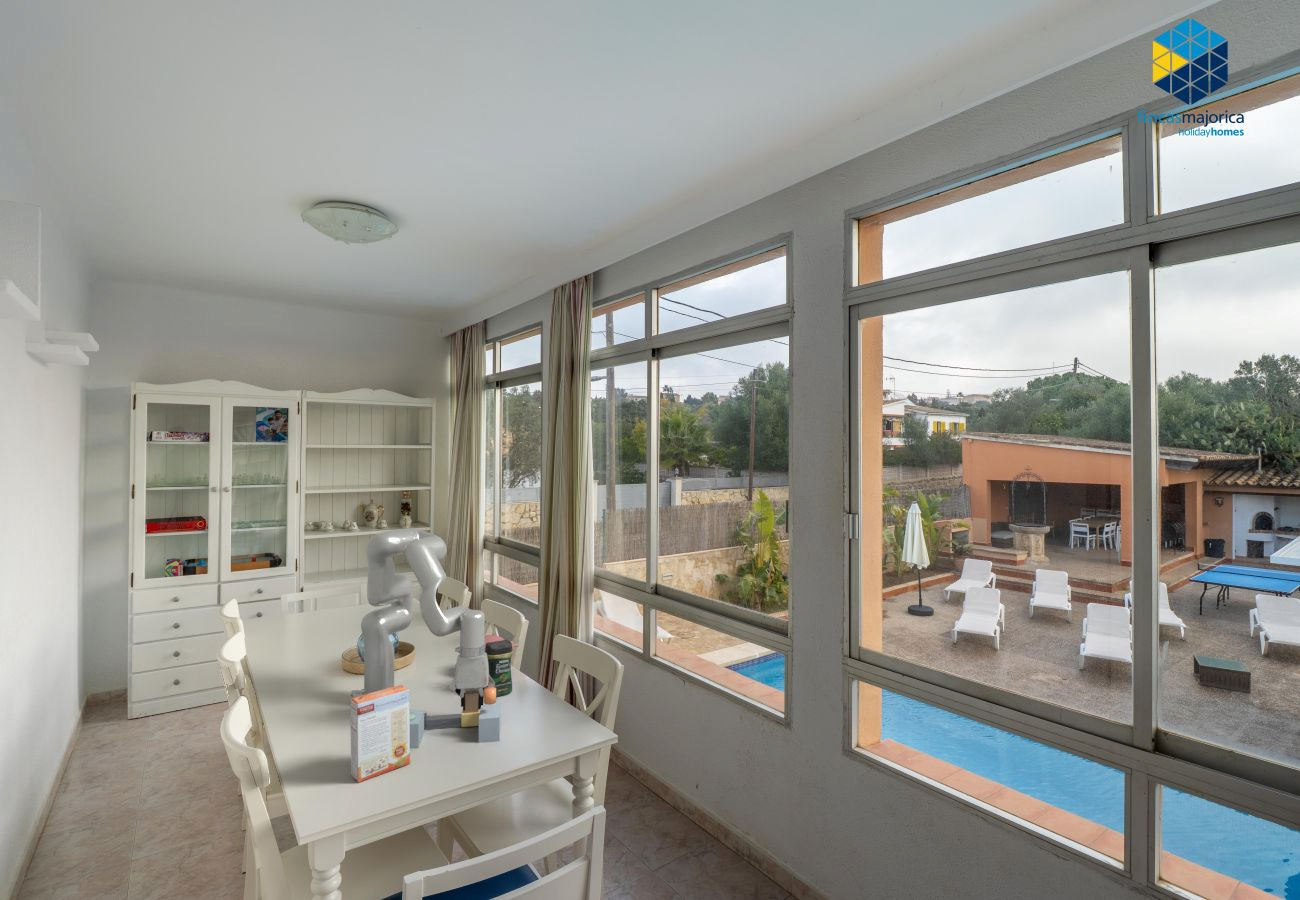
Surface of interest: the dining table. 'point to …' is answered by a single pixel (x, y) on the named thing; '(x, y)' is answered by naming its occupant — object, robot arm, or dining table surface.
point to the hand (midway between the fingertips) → (472, 707)
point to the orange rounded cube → (489, 695)
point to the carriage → (470, 709)
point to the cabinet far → (490, 723)
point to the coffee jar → (500, 665)
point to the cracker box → (379, 732)
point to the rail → (442, 721)
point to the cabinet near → (416, 727)
